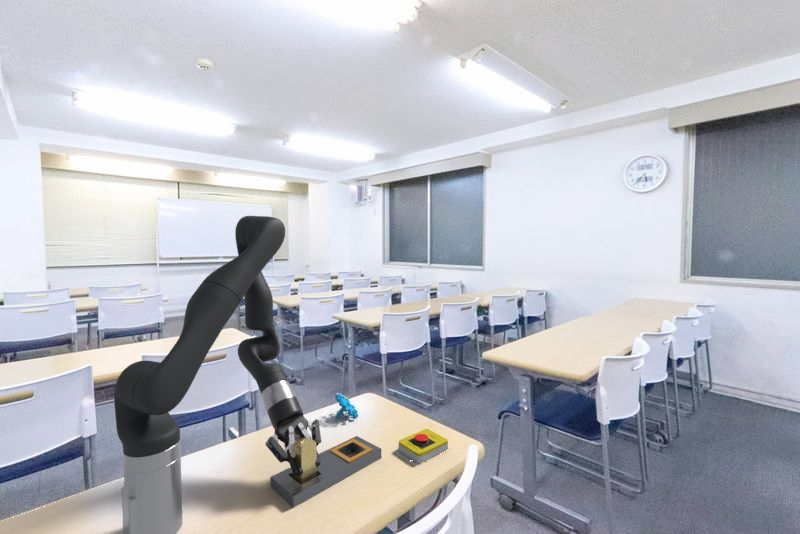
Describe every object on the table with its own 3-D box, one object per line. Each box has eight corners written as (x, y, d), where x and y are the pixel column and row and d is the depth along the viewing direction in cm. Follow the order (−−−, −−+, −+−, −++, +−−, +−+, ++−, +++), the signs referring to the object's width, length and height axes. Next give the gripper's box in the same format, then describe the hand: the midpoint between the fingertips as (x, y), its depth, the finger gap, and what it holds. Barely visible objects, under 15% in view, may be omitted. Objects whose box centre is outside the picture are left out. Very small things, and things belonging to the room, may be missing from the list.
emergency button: (392, 438, 101) (431, 421, 110) (392, 453, 101) (431, 436, 111) (415, 452, 94) (455, 433, 103) (415, 469, 94) (455, 449, 103)
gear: (358, 418, 117) (336, 396, 118) (345, 432, 117) (323, 410, 117) (361, 408, 128) (340, 388, 129) (348, 421, 128) (328, 401, 128)
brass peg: (301, 491, 84) (301, 448, 84) (292, 484, 87) (291, 442, 86) (316, 483, 87) (316, 442, 86) (307, 476, 90) (306, 436, 89)
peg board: (293, 507, 79) (293, 494, 79) (270, 487, 86) (270, 475, 86) (381, 457, 98) (381, 447, 98) (356, 444, 105) (356, 434, 105)
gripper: (259, 405, 86) (287, 477, 78) (311, 388, 96) (341, 451, 89) (249, 420, 90) (275, 491, 82) (300, 403, 100) (327, 464, 92)
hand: (309, 470), depth 85 cm, fingers closed on brass peg, 4 cm apart
